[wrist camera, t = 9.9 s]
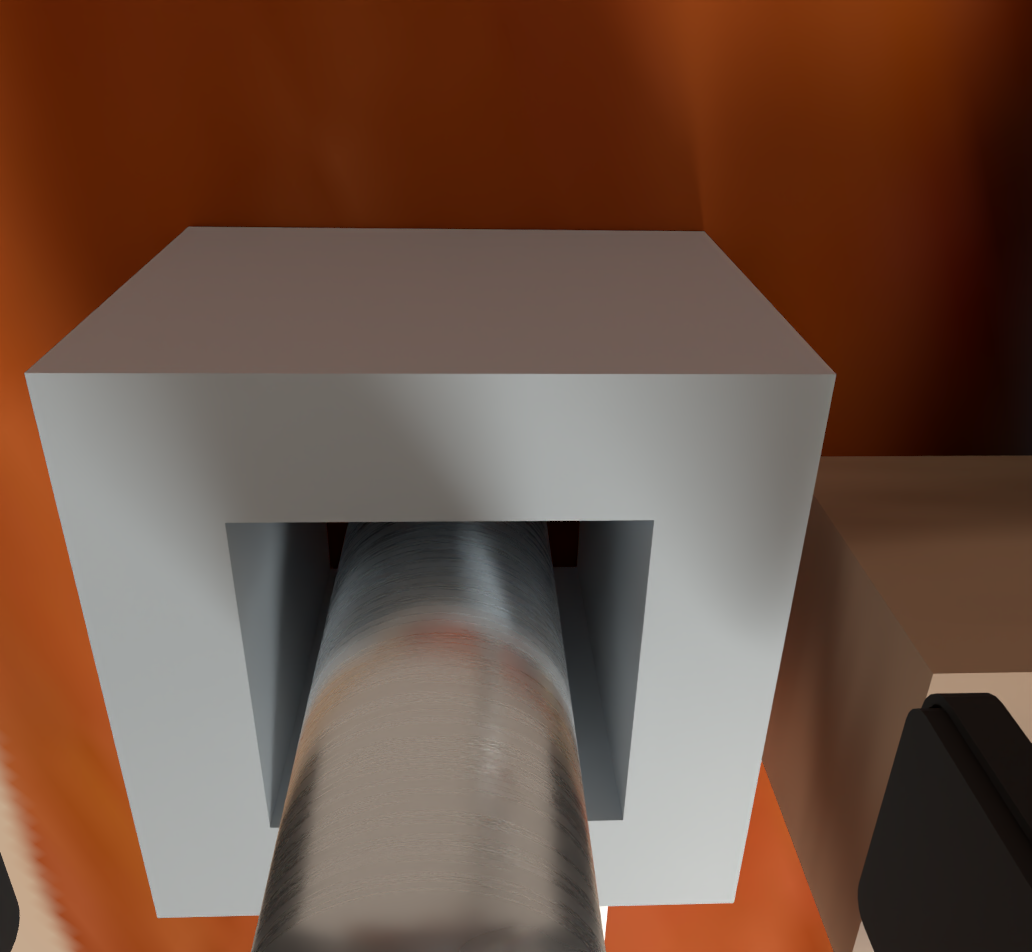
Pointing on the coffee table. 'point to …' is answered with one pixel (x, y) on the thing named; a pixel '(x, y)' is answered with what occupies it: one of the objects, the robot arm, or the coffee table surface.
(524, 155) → the coffee table surface
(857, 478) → the walnut block
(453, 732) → the pin
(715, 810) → the bore block
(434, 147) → the coffee table surface
